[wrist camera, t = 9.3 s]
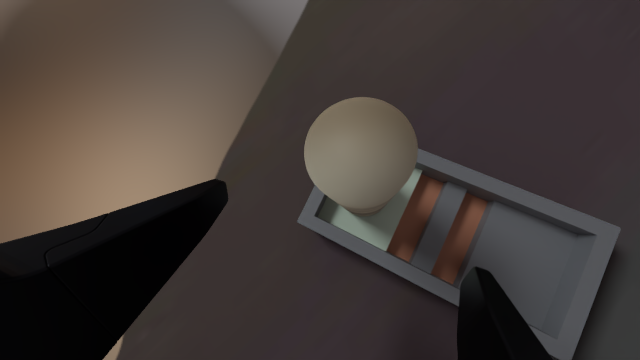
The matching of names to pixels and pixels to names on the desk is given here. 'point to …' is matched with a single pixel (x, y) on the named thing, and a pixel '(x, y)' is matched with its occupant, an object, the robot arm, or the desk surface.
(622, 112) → the desk surface
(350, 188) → the beige tall rounded piece
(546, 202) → the box
